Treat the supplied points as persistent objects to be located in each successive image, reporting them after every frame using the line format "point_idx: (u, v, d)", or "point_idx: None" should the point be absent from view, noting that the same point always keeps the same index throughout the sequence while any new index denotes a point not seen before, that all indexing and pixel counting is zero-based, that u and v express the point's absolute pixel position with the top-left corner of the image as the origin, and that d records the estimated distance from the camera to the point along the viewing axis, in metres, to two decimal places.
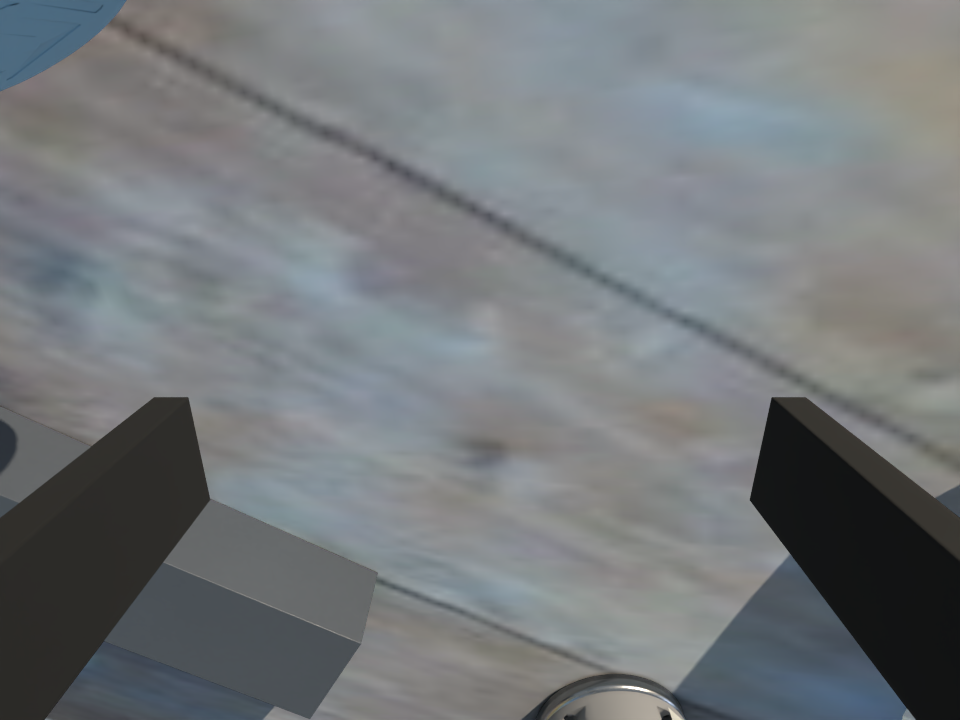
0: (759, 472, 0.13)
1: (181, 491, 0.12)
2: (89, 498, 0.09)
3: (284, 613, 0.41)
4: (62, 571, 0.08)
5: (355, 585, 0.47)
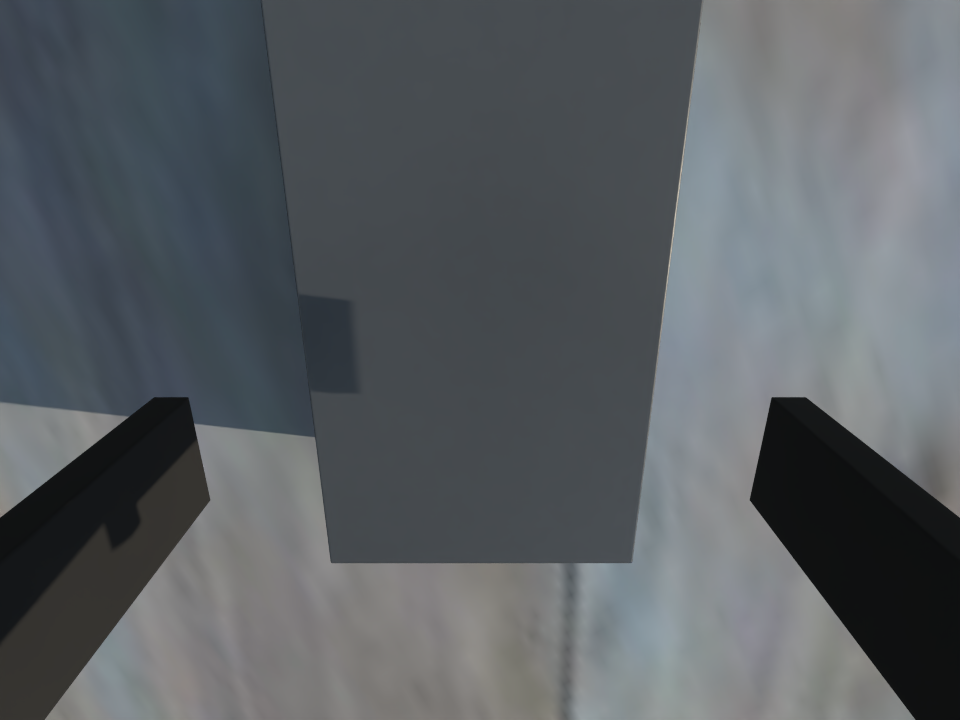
0: (759, 473, 0.13)
1: (181, 491, 0.12)
2: (89, 498, 0.09)
3: (650, 385, 0.15)
4: (62, 570, 0.09)
5: None
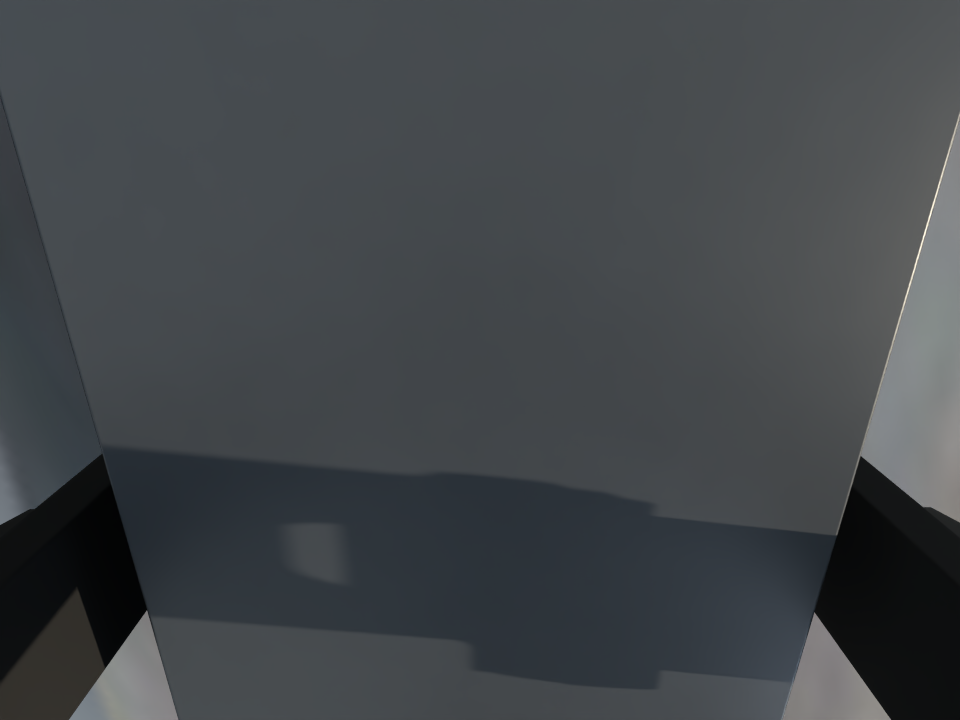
0: None
1: None
2: None
3: (804, 617, 0.08)
4: (97, 558, 0.09)
5: None
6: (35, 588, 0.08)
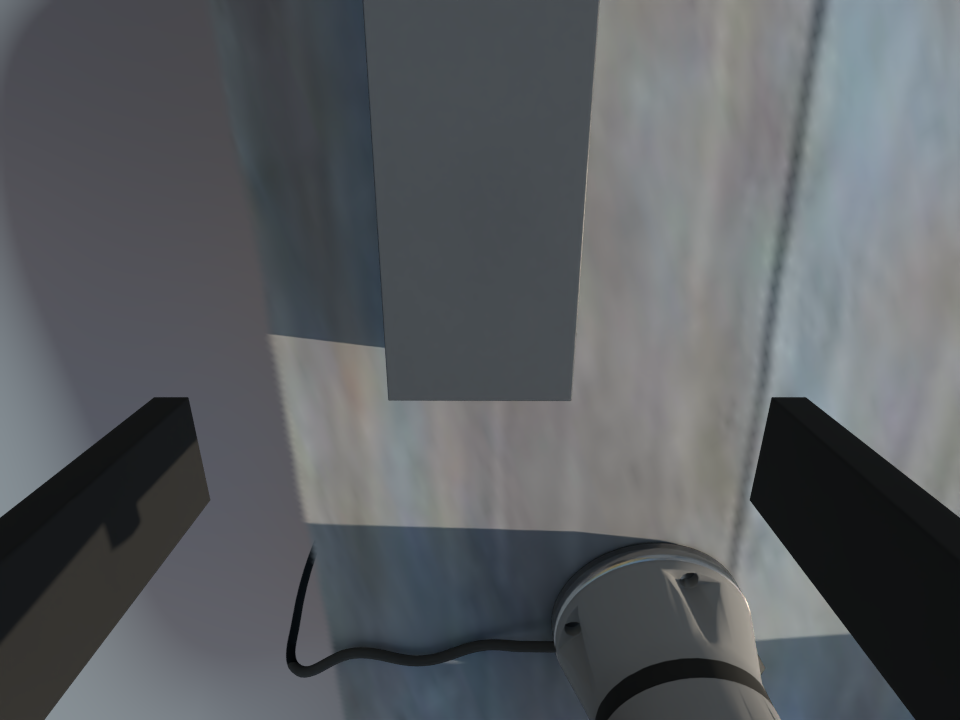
0: (758, 472, 0.13)
1: (181, 491, 0.12)
2: (89, 498, 0.09)
3: (576, 284, 0.27)
4: (62, 571, 0.09)
5: None
6: None
